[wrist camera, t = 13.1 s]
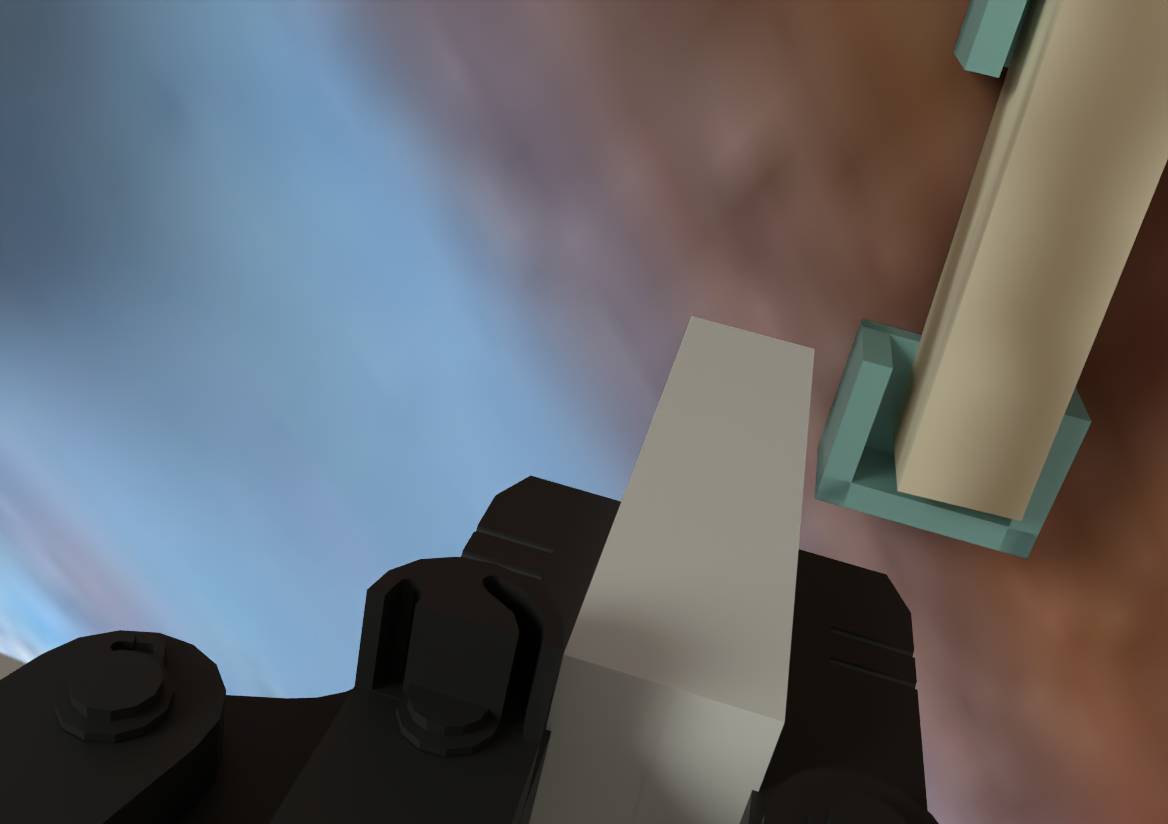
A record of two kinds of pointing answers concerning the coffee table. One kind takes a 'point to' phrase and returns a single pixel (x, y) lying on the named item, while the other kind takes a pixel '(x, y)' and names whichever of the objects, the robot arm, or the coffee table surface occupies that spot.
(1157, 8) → the beige long bar
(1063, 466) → the cap
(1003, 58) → the cap
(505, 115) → the coffee table surface
